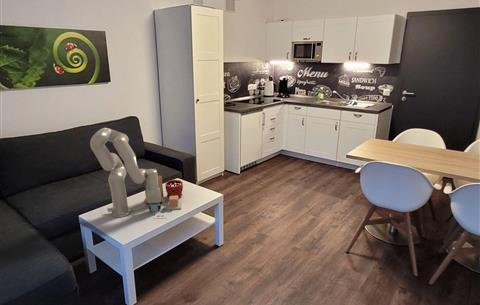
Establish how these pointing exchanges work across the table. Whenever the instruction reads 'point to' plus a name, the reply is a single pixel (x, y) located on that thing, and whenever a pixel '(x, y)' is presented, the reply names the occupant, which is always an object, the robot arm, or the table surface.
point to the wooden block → (158, 185)
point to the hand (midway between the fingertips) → (155, 210)
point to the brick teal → (154, 207)
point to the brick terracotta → (173, 201)
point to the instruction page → (160, 216)
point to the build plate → (174, 207)
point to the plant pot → (174, 188)
